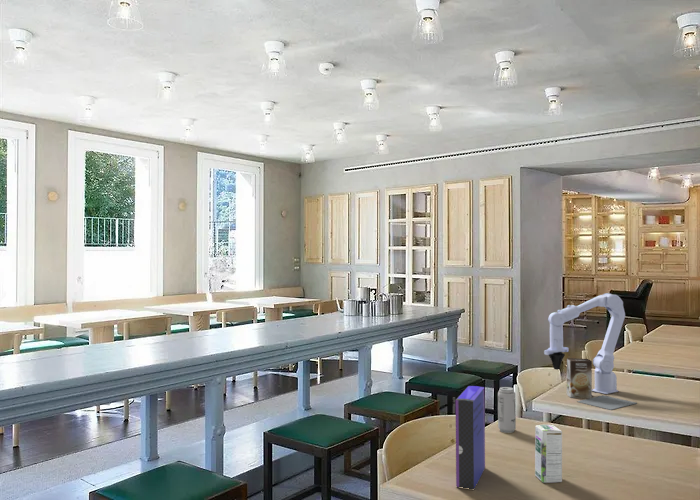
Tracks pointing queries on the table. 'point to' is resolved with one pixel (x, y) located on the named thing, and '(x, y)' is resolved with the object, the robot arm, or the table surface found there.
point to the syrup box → (548, 453)
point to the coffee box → (579, 378)
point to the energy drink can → (506, 410)
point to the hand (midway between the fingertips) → (556, 369)
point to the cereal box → (470, 436)
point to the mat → (607, 402)
